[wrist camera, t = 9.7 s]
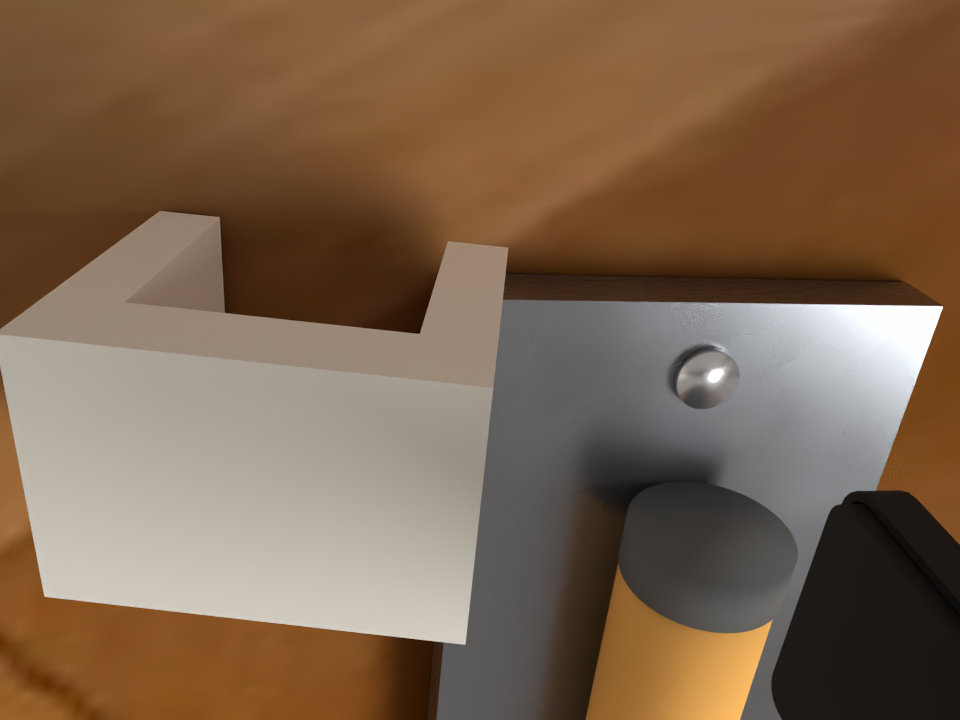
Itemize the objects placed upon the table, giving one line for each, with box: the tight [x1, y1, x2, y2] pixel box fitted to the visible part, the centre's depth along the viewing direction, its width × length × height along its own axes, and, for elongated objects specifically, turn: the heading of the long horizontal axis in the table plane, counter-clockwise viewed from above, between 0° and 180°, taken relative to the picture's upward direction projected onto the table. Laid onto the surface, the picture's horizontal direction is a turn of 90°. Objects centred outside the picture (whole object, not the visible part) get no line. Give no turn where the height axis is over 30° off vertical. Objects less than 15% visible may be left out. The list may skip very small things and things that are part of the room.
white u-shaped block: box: [0, 211, 508, 645], centre depth 13 cm, size 4×6×5 cm
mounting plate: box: [427, 274, 943, 720], centre depth 21 cm, size 22×9×1 cm, turn 175°
